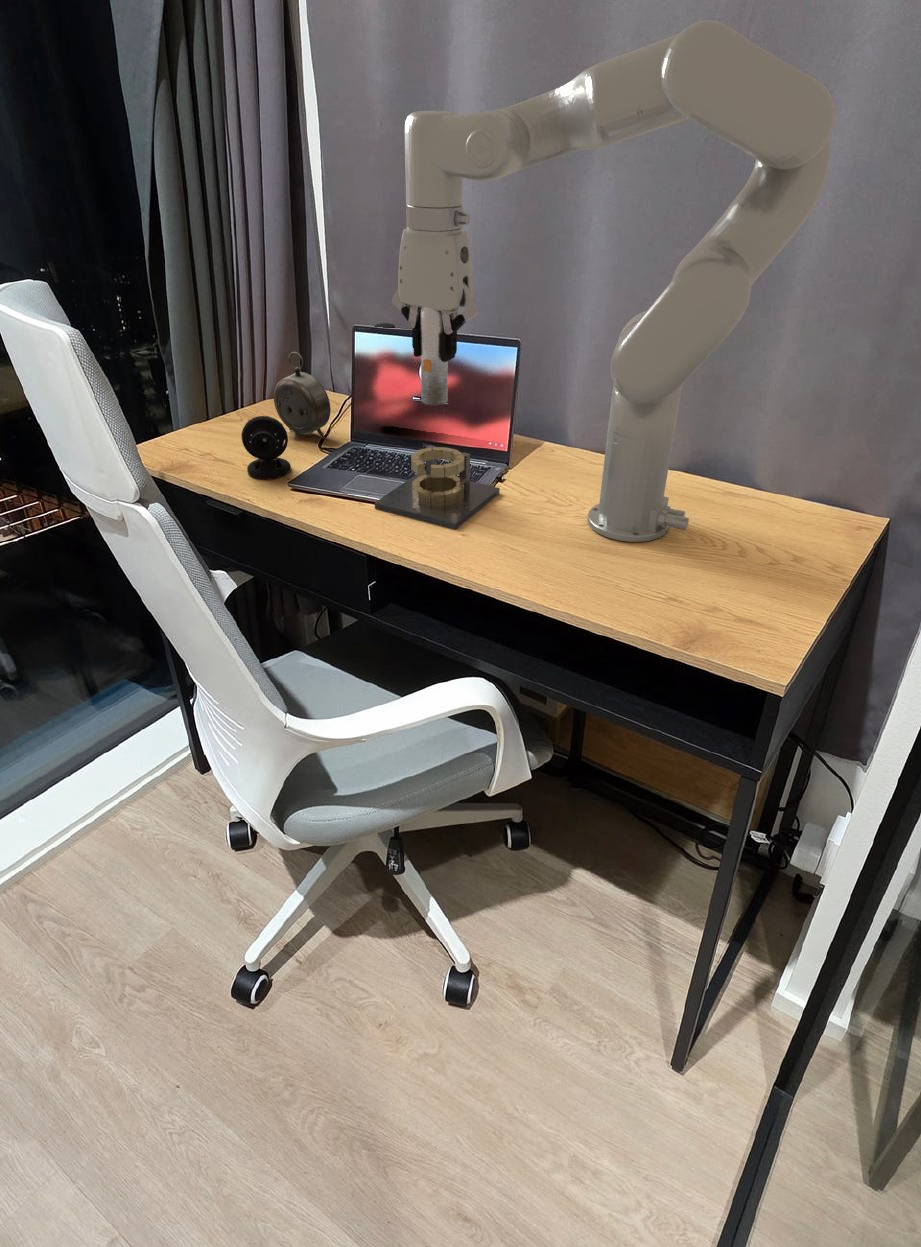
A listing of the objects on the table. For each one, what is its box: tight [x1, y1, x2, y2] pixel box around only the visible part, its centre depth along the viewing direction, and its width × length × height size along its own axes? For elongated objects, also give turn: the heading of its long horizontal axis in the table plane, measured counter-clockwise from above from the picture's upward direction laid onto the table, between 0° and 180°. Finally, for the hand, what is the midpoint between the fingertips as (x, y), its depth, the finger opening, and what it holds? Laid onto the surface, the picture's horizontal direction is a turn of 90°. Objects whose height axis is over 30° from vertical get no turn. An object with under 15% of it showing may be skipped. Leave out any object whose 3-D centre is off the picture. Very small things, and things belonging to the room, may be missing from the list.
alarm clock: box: [273, 351, 332, 441], centre depth 149 cm, size 11×5×16 cm, turn 58°
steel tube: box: [420, 307, 449, 406], centre depth 116 cm, size 4×4×18 cm
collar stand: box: [374, 444, 501, 531], centre depth 128 cm, size 15×15×8 cm
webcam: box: [241, 415, 292, 480], centre depth 137 cm, size 8×8×10 cm
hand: (434, 355), depth 117 cm, fingers closed on steel tube, 4 cm apart
